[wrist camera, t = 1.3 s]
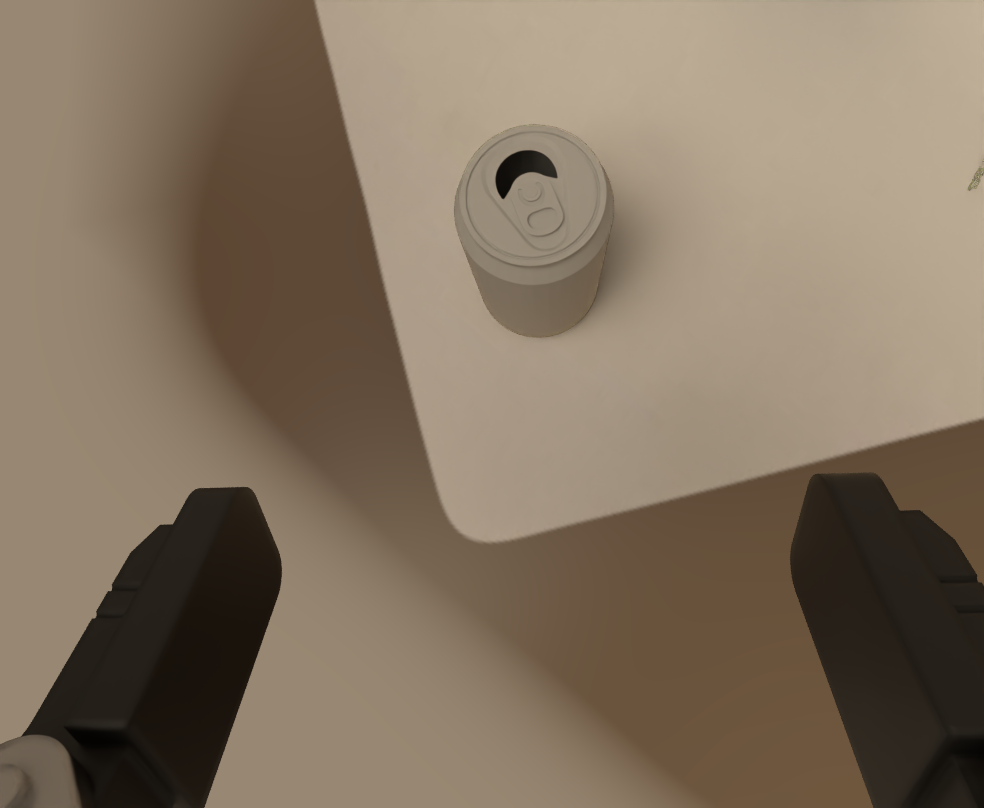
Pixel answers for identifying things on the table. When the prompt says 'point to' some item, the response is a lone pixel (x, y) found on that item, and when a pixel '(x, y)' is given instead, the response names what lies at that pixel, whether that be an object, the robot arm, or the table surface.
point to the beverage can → (535, 227)
